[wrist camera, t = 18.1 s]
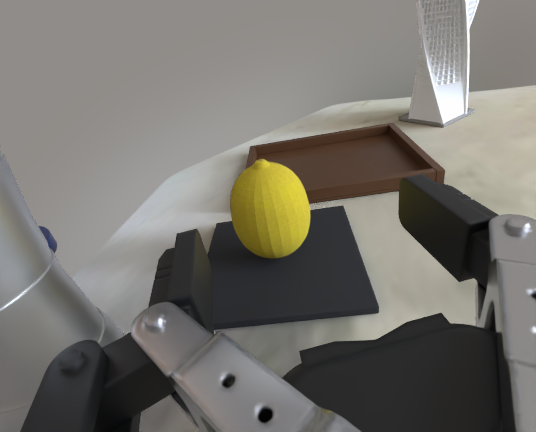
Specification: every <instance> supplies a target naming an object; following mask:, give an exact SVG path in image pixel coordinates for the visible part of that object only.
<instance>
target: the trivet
mask: <svg viewBox="0 0 536 432" xmlns="http://www.w3.org/2000/svg"><path fill="white" fill-rule="evenodd" d="M207 256H208V258H209V261H210V265H211V269H212V278H213V330H214V329H224V328H234V327H244V326H254V325H264V324H274V323H283V322H293V321H303V320H313V319H323V318H333V317H343V316H353V315H363V314H373V313H379V306H378V303H377V300H376V297H375V294H374V292H373V289H372V286H371V283H370V280H369V277H368V275H367V272H366V269H365V266H364V263H363V260H362V258H361V255H360V252H359V249H358V246H357V243H356V241H355V238H354V235H353V232H352V229H351V226H350V224H349V221H348V218H347V215H346V212H345V209H344V207H343V206H337V207H330V208H322V209H315V210H310V225H309V230H308V233H307V236H306V238H305V240H304V241H303V243H302V244H301V246H300V247H299V248H298V249H296V250H295V251H294V252H293V253H291V254H289V255H287V256H284V257H281V258H271V259H270V258H264V257H261V256H258V255H256V254H254V253H253V252H251V251H250V250H248V249H247V248H246V247H245V246H244V245H243V243H242V242H241V240H240V239H239V237H238V235H237V234H236V231H235V229H234V226H233V222H232V221H229V222H222V223H217V224H216V228H215V231H214V235H213V238H212V242H211V245H210V249H209V252H208V255H207Z"/></svg>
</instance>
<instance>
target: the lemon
mask: <svg viewBox="0 0 536 432" xmlns="http://www.w3.org/2000/svg"><path fill="white" fill-rule="evenodd" d="M230 207H231V217H232V222H233V226H234V229H235V231H236V234H237V235H238V237H239V239H240V240H241V242H242V243H243V245H244V246H245V247H246V248H247V249H248V250H250V251H251V252H253V253H254V254H256V255H258V256H261V257H264V258H270V259H271V258H281V257H284V256H287V255H289V254H291V253H293V252H294V251H295V250H296V249H298V248H299V247H300V246H301V244H302V243H303V241H304V240H305V238H306V236H307V233H308V230H309V225H310V206H309V202H308V198H307V195H306V192H305V189H304V187H303V185H302V183H301V181H300V179H299V178H298V177H297V176H296V175H295V173H294V172H293V171H291V170H290V169H289V168H287V167H285V166H283V165H281V164H278V163H274V162H267V161H266V160H265V159H259V160H256V161H255V163H254V164H253V165H252V166H250V167H248V168H247V169H246V170H244V171H243V172H242V173H241V174H240V176H239V177H238V178H237V180H236V181H235V183H234V186H233V188H232V191H231V199H230Z"/></svg>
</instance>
